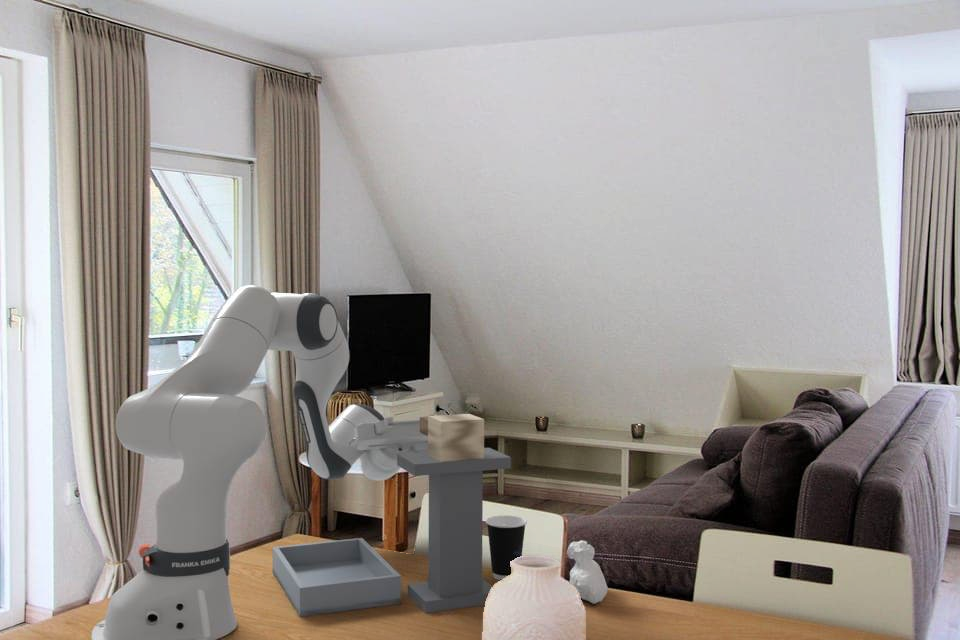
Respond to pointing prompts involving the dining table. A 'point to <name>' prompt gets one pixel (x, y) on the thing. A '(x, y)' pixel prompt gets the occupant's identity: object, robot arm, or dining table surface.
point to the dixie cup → (505, 542)
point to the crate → (335, 576)
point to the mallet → (454, 436)
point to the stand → (453, 529)
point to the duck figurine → (586, 572)
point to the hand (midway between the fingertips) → (412, 419)
